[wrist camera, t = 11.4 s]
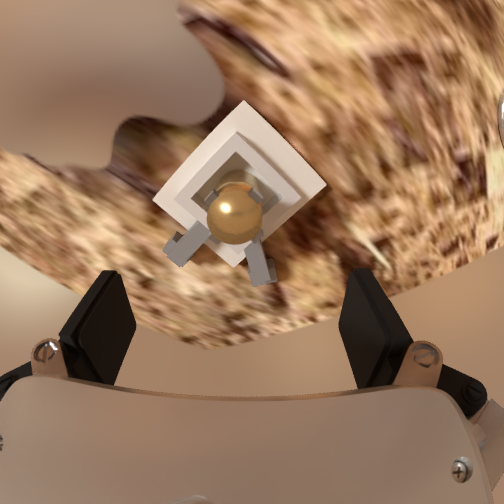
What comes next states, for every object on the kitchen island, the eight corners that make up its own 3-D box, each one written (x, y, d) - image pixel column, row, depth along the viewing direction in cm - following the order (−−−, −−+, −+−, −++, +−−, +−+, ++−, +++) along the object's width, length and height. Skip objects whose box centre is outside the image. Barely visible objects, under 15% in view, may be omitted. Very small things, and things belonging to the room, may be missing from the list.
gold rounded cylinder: (274, 188, 28) (283, 218, 21) (240, 222, 30) (237, 262, 23) (236, 154, 26) (231, 172, 19) (202, 191, 28) (186, 222, 21)
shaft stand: (348, 210, 31) (360, 223, 27) (240, 300, 37) (240, 320, 33) (244, 100, 25) (243, 98, 21) (138, 218, 31) (125, 233, 27)
